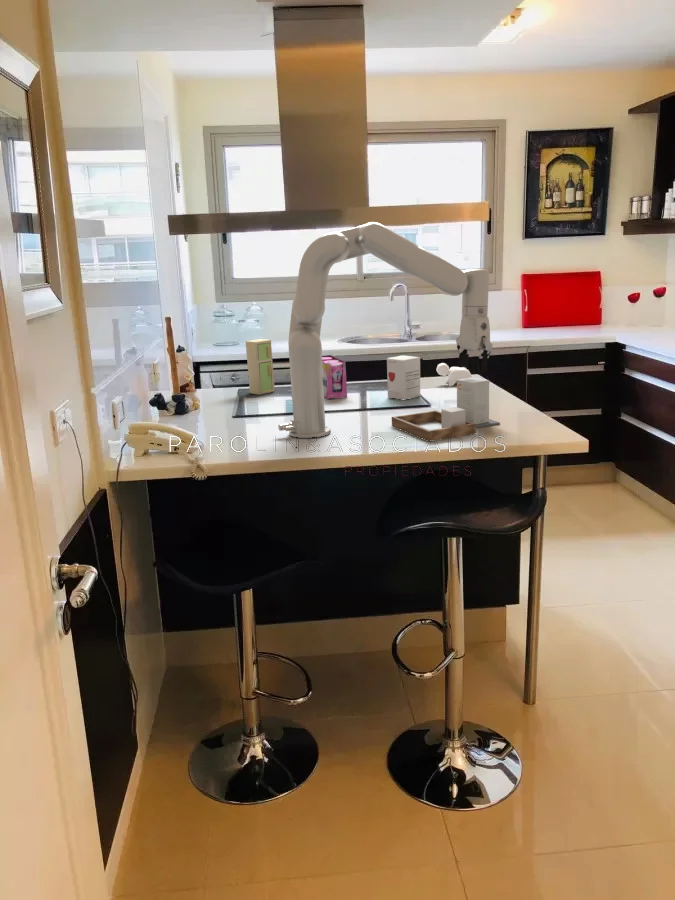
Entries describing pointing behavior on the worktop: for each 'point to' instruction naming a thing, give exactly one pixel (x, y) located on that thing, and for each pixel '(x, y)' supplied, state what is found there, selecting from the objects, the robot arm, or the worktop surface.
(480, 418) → the small box
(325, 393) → the gum box
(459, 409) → the white block
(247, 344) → the toy refrigerator
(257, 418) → the worktop surface
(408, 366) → the supplement box
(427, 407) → the worktop surface
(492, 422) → the slate mat
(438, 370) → the white animal figurine
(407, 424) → the tray
